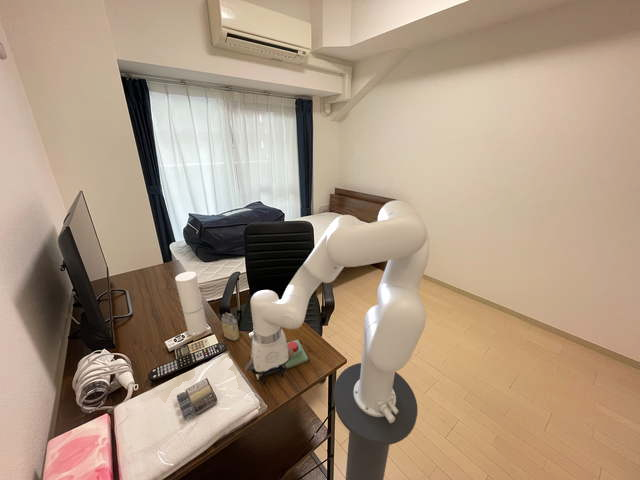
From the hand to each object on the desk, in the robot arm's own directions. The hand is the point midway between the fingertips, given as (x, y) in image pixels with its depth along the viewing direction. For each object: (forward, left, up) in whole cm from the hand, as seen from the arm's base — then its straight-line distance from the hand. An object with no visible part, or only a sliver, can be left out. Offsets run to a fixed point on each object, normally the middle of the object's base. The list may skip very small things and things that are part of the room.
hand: (272, 377), depth 78 cm
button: (+9, -10, -1) cm, 14 cm away
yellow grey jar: (+28, +9, -4) cm, 30 cm away
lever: (+5, 0, +3) cm, 6 cm away
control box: (+9, -10, -4) cm, 14 cm away
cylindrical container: (+38, +21, -4) cm, 44 cm away
